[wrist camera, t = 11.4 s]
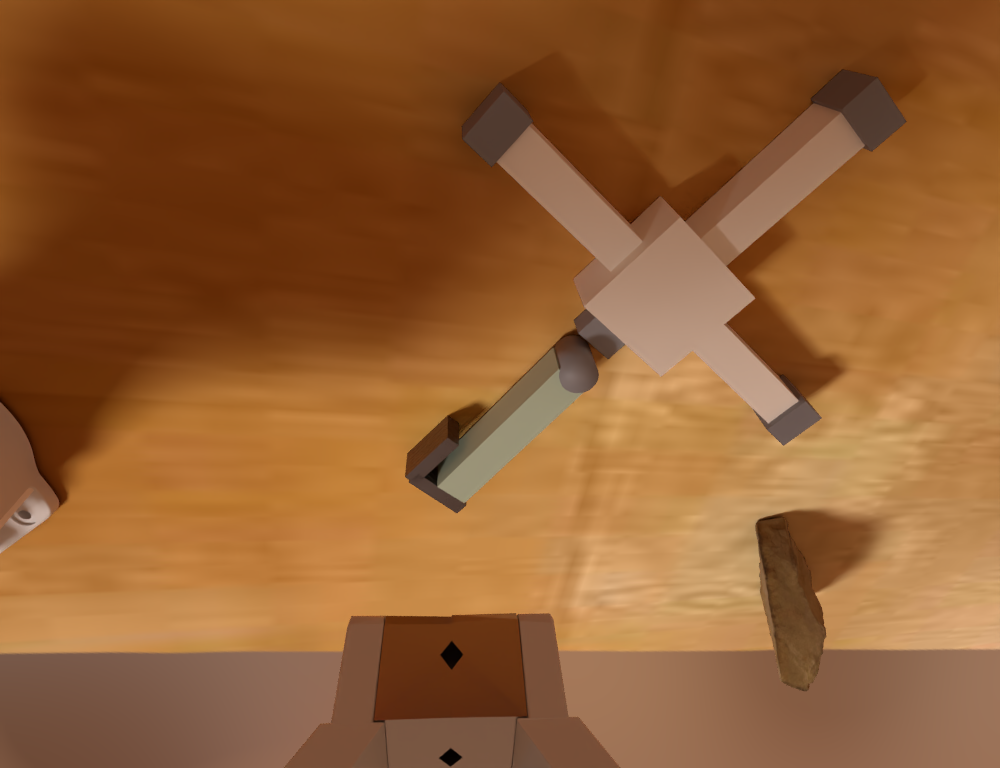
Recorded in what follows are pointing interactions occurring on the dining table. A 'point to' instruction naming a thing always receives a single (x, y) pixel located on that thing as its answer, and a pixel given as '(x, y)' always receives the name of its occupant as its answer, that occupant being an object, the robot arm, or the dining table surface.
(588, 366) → the hinged leg
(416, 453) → the leg socket
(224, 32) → the dining table surface
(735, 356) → the stool base
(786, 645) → the rock
